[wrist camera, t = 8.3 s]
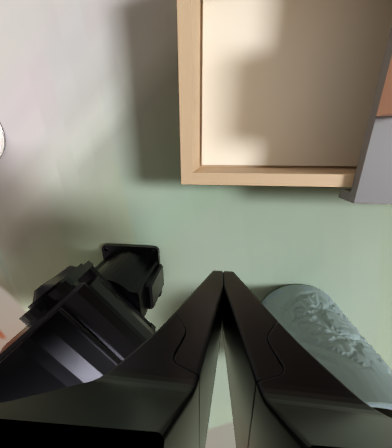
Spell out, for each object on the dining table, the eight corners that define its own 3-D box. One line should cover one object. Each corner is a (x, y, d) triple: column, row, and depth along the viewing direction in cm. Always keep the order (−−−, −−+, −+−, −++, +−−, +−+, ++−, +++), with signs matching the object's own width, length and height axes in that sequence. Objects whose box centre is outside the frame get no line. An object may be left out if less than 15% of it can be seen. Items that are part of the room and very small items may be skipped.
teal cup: (328, 266, 22) (440, 389, 11) (354, 336, 24) (467, 496, 13) (237, 296, 24) (250, 421, 13) (269, 357, 27) (303, 506, 16)
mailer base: (192, 174, 20) (181, 184, 15) (191, -17, 16) (174, -110, 10) (421, 177, 18) (511, 189, 13) (499, -45, 13) (697, -183, 8)
